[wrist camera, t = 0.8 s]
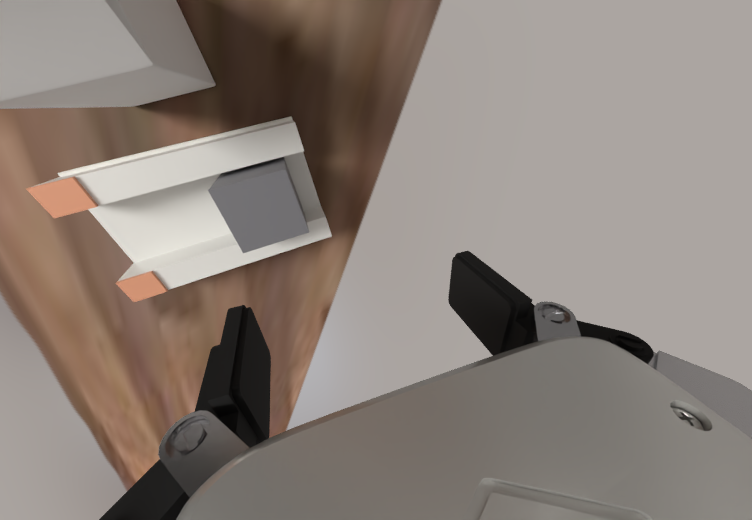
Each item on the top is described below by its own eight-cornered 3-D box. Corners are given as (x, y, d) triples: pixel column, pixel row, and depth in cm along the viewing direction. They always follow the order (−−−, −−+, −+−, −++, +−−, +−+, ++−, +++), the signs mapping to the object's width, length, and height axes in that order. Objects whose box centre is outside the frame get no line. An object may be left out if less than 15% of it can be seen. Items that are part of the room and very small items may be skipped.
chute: (290, 116, 26) (293, 118, 22) (326, 223, 33) (333, 239, 29) (65, 170, 23) (22, 184, 19) (154, 277, 30) (136, 304, 26)
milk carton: (217, 86, 24) (105, 51, 8) (132, 107, 23) (-187, 114, 7) (164, -27, 20) (-259, -528, 4) (58, -7, 19) (-1059, -581, 3)
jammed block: (283, 155, 27) (285, 169, 21) (302, 208, 30) (309, 232, 24) (222, 171, 26) (207, 190, 20) (249, 224, 29) (243, 253, 23)
